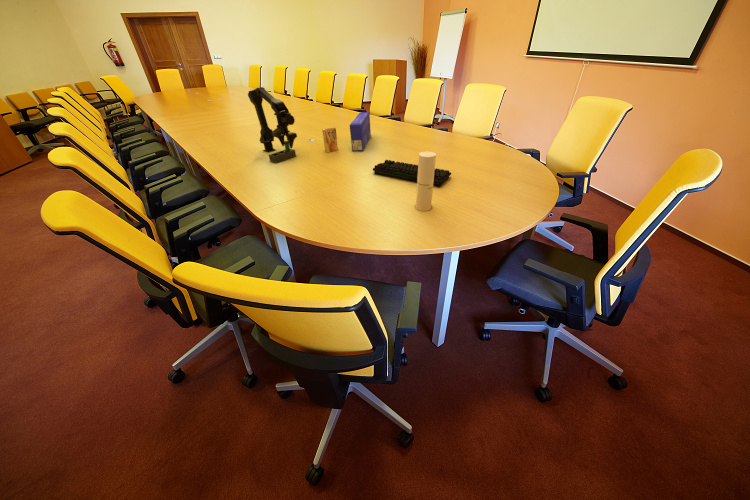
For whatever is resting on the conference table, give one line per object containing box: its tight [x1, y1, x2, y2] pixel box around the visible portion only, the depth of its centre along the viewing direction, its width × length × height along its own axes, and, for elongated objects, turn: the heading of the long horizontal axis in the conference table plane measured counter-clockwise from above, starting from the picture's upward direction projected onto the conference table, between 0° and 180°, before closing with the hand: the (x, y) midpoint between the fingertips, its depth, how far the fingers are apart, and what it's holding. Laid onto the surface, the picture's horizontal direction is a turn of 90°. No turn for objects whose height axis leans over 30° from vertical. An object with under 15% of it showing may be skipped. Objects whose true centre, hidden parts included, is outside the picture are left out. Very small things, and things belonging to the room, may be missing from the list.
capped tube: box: [284, 140, 291, 152], centre depth 198 cm, size 3×3×10 cm
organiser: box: [268, 148, 297, 164], centre depth 197 cm, size 7×17×4 cm, turn 142°
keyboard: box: [372, 159, 452, 188], centre depth 165 cm, size 42×16×5 cm, turn 58°
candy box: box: [322, 126, 339, 153], centre depth 205 cm, size 9×4×15 cm, turn 129°
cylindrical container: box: [415, 151, 437, 212], centre depth 129 cm, size 7×7×25 cm
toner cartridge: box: [349, 111, 372, 152], centre depth 215 cm, size 39×8×18 cm, turn 172°
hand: (287, 147), depth 197 cm, fingers open, 8 cm apart
